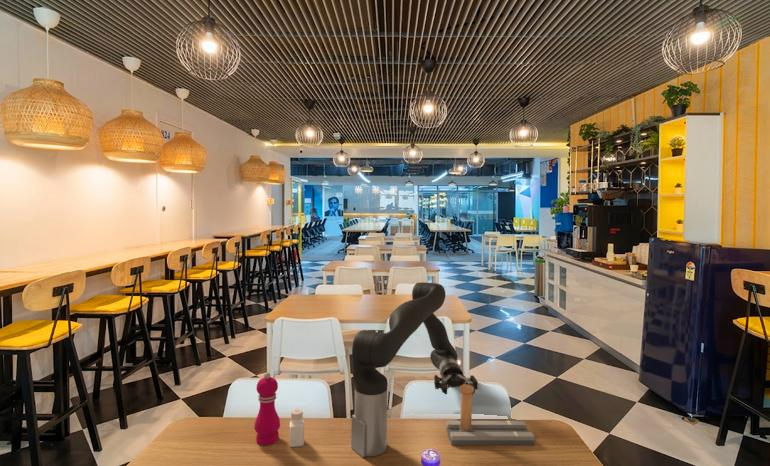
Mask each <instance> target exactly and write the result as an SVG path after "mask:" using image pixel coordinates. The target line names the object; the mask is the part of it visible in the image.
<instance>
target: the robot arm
mask: <svg viewBox="0 0 770 466" xmlns="http://www.w3.org/2000/svg"><path fill="white" fill-rule="evenodd" d="M411 297H412V298H411V300H408V301H404V302H403V303H401V304H399V306H397V307H396V308H395V309H394V310H393V311H391V313H390V315H389V320H388V325H389V331H387V332H379V331H372V330H365V329H364V330H363V329H362V330H359V331H358V332H356V334H355V336H354V339H353V342H352V345H351V346H352V347H351V355H352V356H351V362H352V363H351V364H352V380H353V383H354V414H352V415H351V427H350V428H351V432H350V433H351V434H350V435H351V437H350V438H351V439H350V440H351V443H350V444H351V445H350V446H351V449H352V450H353V451H354V452H356V453H357V454H358V455H360V457H362V458H365V457H377V456H380V455H382V454H384V453H385V452H386V450H387V447H388V446H387V445H388V440H387V439H388V383H389V382H388V379H387V377H386V376H385V375H384V374H383V373H381V372H380V371H379V370H377V369H376V368H385V367H387V366H388V365H389V364H390V363H391V362H392V361H393V359H394V358H395V357H396V355H397V353H399V351H400V349H401V347H402V346H403V345H404V344H405V343H406V341H407V340H408V339H409V338H410V337H411V335H413V334H414V333H415V332H416V331H417V330H418V328H420V326H421V325H422V324H424V326H425V329H426V332H427V335H428V338H429V342H430V344H431V347H432V348H433V350H432V351H431V352H430V355H429V356H430V357H429V358H430V361H431V364H432V365H433V366H434V368H436V369H437V370H439V376H438V375H437V374H435V375H434V376H433V381H434V383H433V384H434V389H435V390H439V389H440V390H441V392H442V393H443V394H444V395H448V390H449V389H450V388H456V387H457V388H460V386H461V385H465V384H466V385H471V386H473V387H474V392H473V393H472V395H474V394H475V393H476V390H478V389H479V388H478V387H479V386H478V384H479V382H478V380H477V379H476V377H475V375H470V377H466V376H465V375H464V372H463V370H462V369H461V367H460V366H461V365H459V363H458V362H457V360H458V353H457V350H456V349H455V347H454V346H453V345H452V343H451V342H450V339H449V336H448V332H447V328H446V326H445V325H444V323H443V322H442V321H441V319H439V318H438V317H437V316H436V315H435V312H437V311H438V310H439V309H440V308H441V307H442V306H443V304H444V303H445V299H446V289H445V287H444V286H443V285H442V284H440V283H436V282H416V283H415V284H414V285H413V287H412V293H411Z"/></svg>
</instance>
